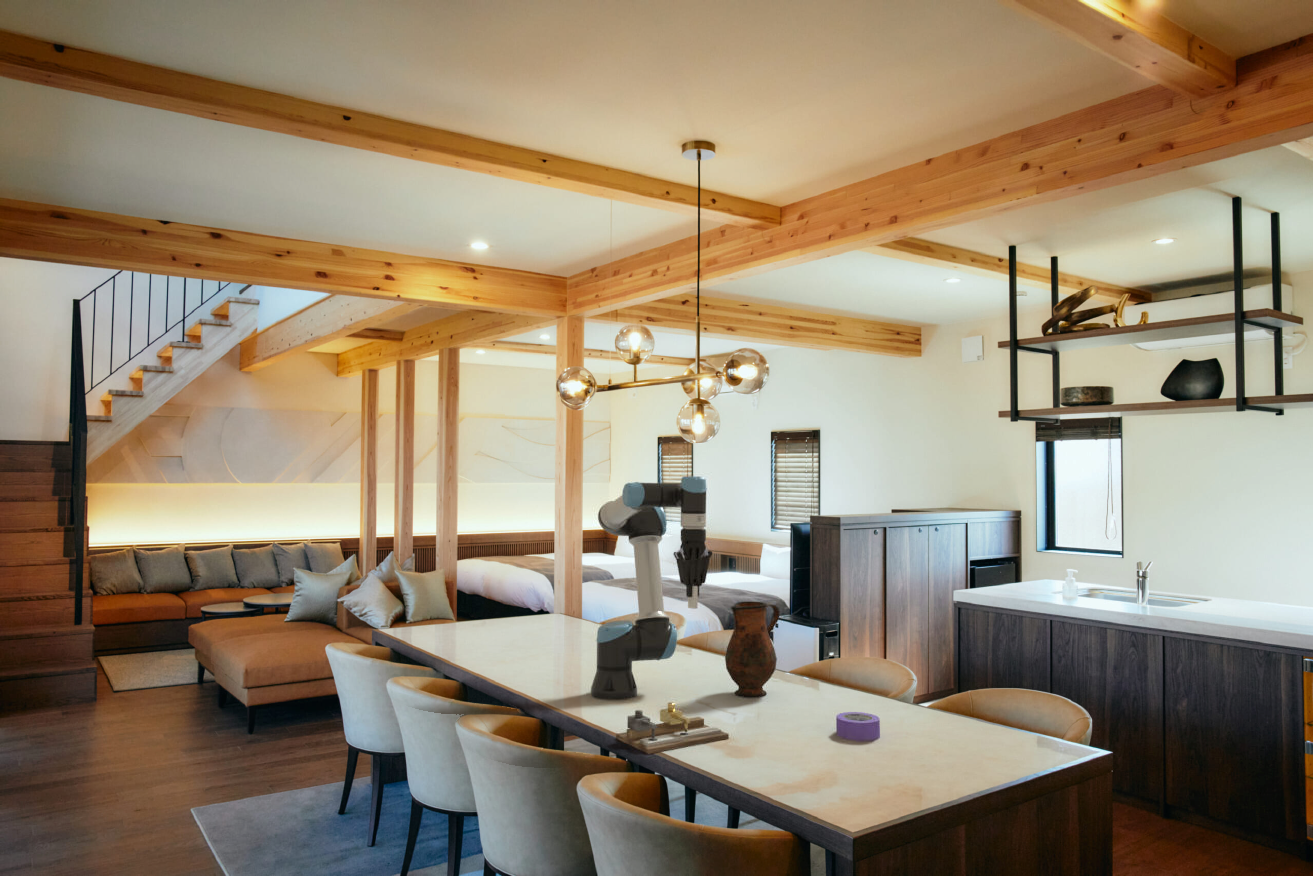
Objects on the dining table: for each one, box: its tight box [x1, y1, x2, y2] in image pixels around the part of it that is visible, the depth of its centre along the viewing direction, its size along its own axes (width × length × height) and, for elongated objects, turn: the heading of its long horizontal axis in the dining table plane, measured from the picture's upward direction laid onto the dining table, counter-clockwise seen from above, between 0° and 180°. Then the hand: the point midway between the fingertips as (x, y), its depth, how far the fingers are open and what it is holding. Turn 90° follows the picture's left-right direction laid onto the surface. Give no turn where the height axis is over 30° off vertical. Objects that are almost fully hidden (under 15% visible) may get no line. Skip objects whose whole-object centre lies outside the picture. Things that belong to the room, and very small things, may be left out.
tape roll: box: [835, 711, 881, 742], centre depth 236 cm, size 12×12×5 cm
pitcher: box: [724, 601, 780, 699], centre depth 283 cm, size 17×21×30 cm
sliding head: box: [659, 702, 690, 732], centre depth 231 cm, size 10×4×6 cm, turn 34°
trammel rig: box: [615, 709, 729, 755], centre depth 230 cm, size 16×26×8 cm, turn 124°
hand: (692, 608), depth 252 cm, fingers closed
